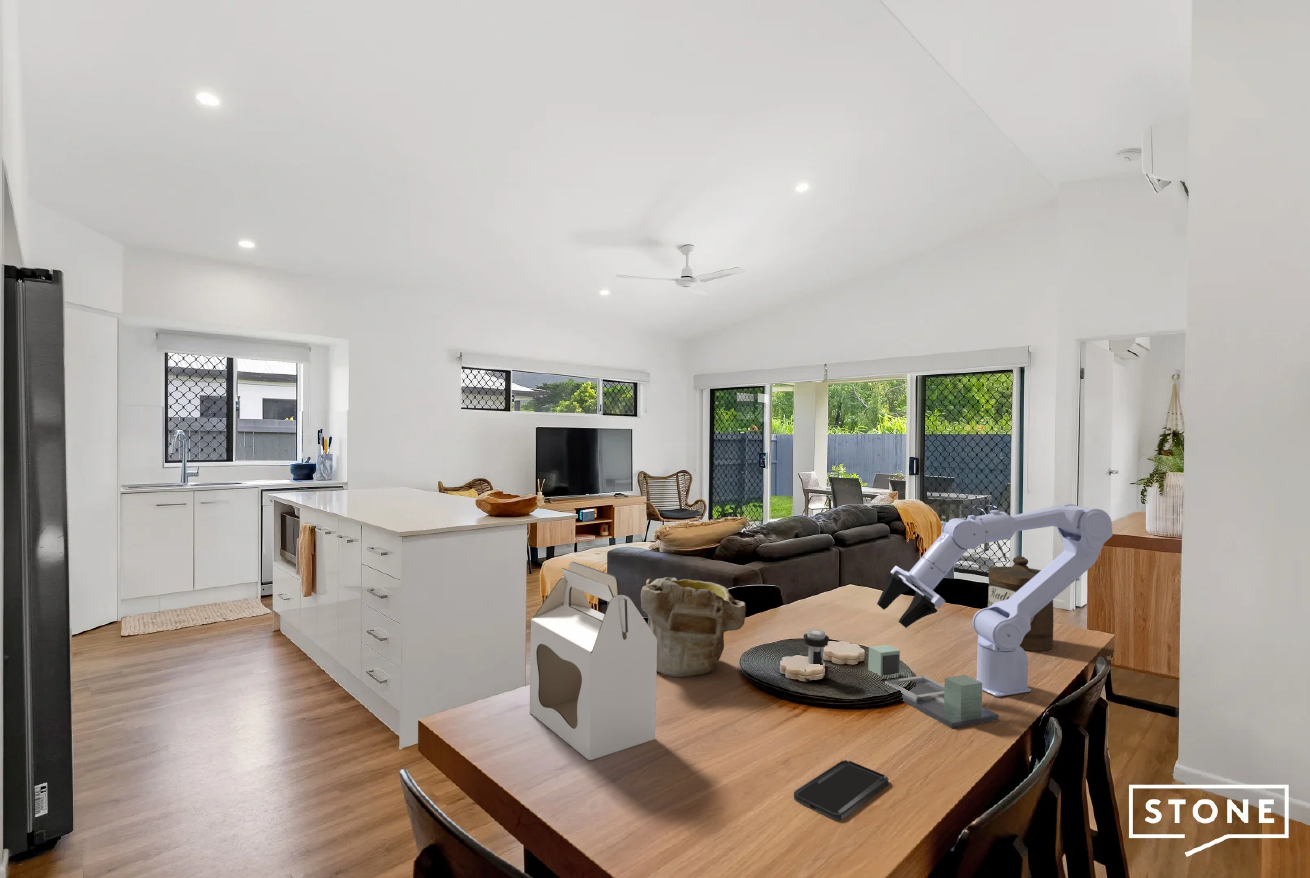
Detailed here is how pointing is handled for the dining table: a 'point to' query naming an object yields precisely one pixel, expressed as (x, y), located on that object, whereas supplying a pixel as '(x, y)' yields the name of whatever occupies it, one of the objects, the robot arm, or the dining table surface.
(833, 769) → the phone
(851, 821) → the dining table surface
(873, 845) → the dining table surface
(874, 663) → the block
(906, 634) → the dining table surface
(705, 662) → the ceramic vessel
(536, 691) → the gable box
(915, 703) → the rail
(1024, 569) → the wooden container
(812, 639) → the push button
